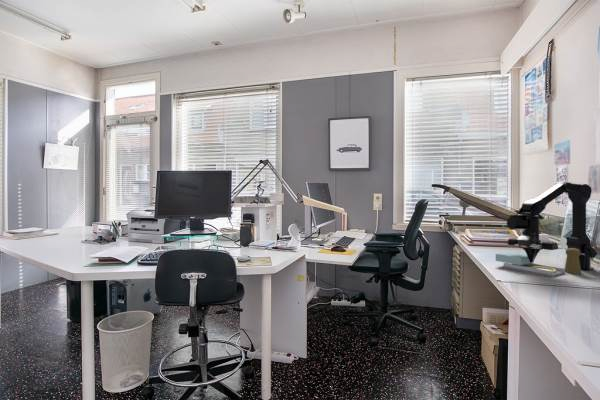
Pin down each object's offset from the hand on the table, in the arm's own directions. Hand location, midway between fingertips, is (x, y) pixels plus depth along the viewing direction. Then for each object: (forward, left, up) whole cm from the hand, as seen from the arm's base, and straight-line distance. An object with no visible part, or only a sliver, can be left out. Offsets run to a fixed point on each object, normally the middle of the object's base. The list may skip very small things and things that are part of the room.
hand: (531, 262), depth 153 cm
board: (0, +1, -4) cm, 4 cm away
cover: (0, -7, -1) cm, 8 cm away
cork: (-11, +12, -4) cm, 17 cm away
